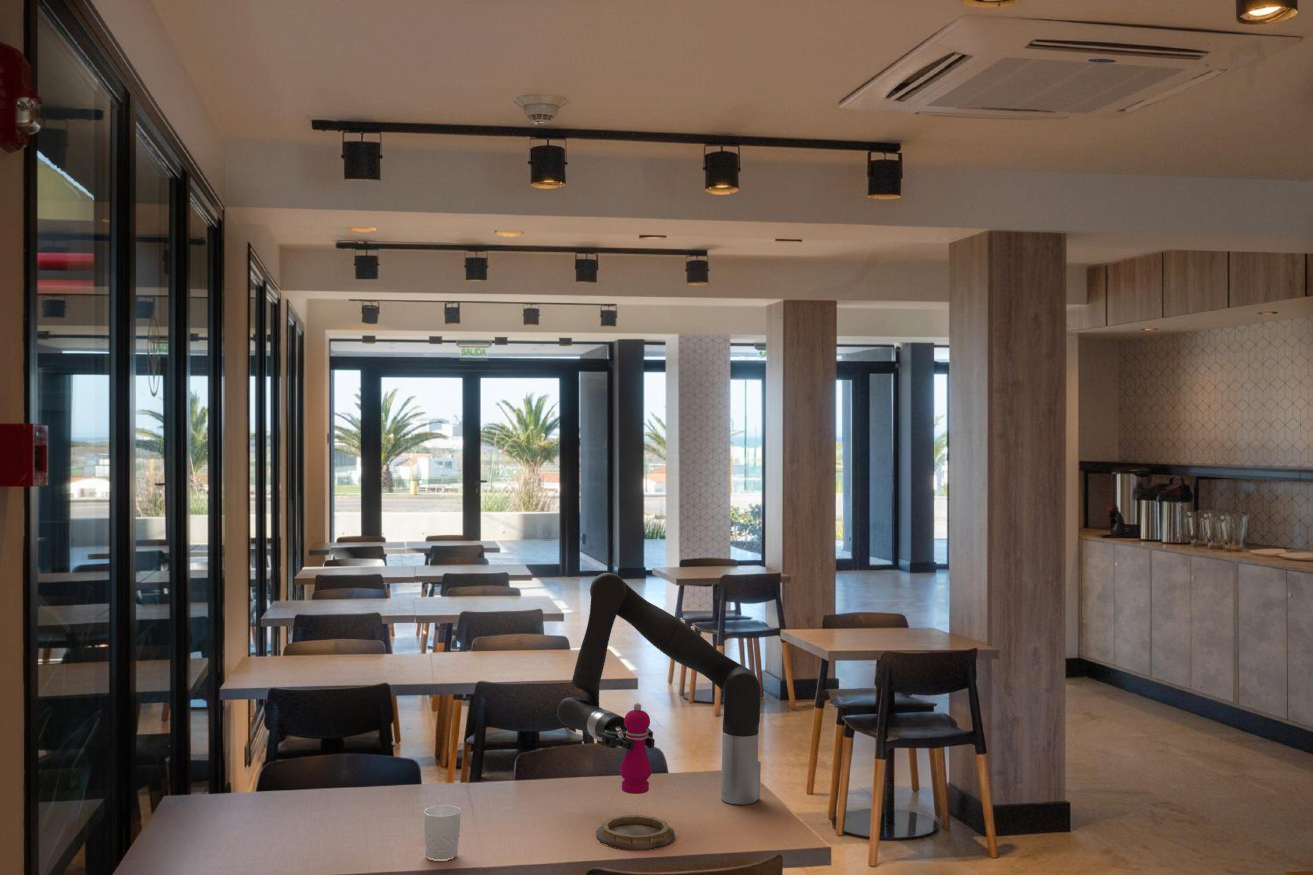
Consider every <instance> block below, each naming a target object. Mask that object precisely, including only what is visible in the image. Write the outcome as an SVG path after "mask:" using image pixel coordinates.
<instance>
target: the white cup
mask: <svg viewBox="0 0 1313 875" xmlns="http://www.w3.org/2000/svg"><path fill="white" fill-rule="evenodd" d="M461 815H462V810H461V808H460V807H458V806H456V805H449V804H448V805H447V804H441V805H432V806H430V807H427V808H425V809H424V812H423V819H424V820H423V822H424V824H423V826H424V828H423V829H424V830H423V831H424V832H423V833H424V846H425V857H426V856H427V857H430V858H434V859H448V858H452V857H455V856H457V857H458V850H459V842H460V829H461Z"/></svg>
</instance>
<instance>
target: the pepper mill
mask: <svg viewBox="0 0 1313 875" xmlns="http://www.w3.org/2000/svg"><path fill="white" fill-rule="evenodd" d="M624 718H625V719H624V725H625V727H626V728H627V731H626V738H628V739H629V740H631V741H633V751H629V750H627V749H626V753H625V755H624V757H623V760H622V762H621V765H620V770H619V773H620V776H621V777H622V778H623V780H622V782H621V791H623V792H624V793H626V794H633V795H640V794H645V793H647V792H649V790H650V783H649V779H650V777H651V775H652V766H651V762H650V759H649V757H648V753H647V751H646V746H645V740H646V738H647V737H648V736H647V733H648V732H647V731H646V730H647V728H649V727H650V724H651V718H650V716H649V713H647V712H646V711H644V710H643V709H642V705H641V704H640V703H638V702H637V703H634V704H633V709H631V710H630V711H628V712H627V713H626V714H625V716H624Z"/></svg>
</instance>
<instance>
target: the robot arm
mask: <svg viewBox="0 0 1313 875" xmlns="http://www.w3.org/2000/svg"><path fill="white" fill-rule="evenodd" d="M589 593H590V594H589V595H590V606H589V607H590V608H589V616H588V621H587V626H586V630H585V632H584V633H585V634H584V637H583V639H582V640H583V641H582V642H581V646H580V649H579V652H578V655H577V660H576V664H575V667H574V670H573V671H574V672H573V674H572V675H573V676H572V680H571V682H572V683H571V684H572V685H573V687H574V688H577V689H578V690H581V691H583V693H584V698H578V697H572V696H571V697H570V696H568V697H565V698H563V699H562V700H561V701H560V702H559V704H558V705H557V710H556V711H557V712H556V714H557V718H558V720H559V722H560V723H561V724H562V725H563V726H565V727H568V728H572V729H575V730H578V731H582V732H584V733H586V734H587V735H590V736H591V737H592V738H594V739H595V740H596V744H598V745H601V746H604V747H606V748H610V749H615V748H619V749H624V750H626V751H627V750H629V751H633V741H631V740H629V739H628V738H626V731H627V728H626V727H625V725H624V719H625V717H623V716H621V715H620V714H617V713H616V712H615V713H614V712H613V711H611V710H608V709H604V708H602V707H600V685H601V679H602V676H603V672H604V668H605V663H606V659H607V654H608V653H607V652H608V648H609V642H610V637H611V633H612V629H613V626H614V623H615V620H616V618H617V616H618V617H620V618H621V619H623V620H624V621H626V622H627V623H629V624H630V625H631V626H632V627H634V629H635V630H636V631H637V632H638V633H639V634H640V635H641V636H642V637H643V638H644V639H645V640H647V641H648V642H649V643H650V644H651V645H652V646H654V647H655V648H656V649H657V650H659V651H660V652H662V653H663V654H665V655H666V657H667V656H668V658H670V659H671V660H673V661H675V662H676V663H678V664H681V665H682V666H684V667H685V668H688V669H691V670H692V671H695V672H698V673H699V674H700V675H703V676H704V677H706V678H707V679H708V680H709V681H710V682H712V683H713V684H715V685H716V686H717V687H718V689H720V690H721V691H722V692H723V718H722V736H721V739H722V740H721V741H722V742H721V744H722V745H721V746H722V747H721V749H722V750H721V783H720V784H721V786H720V787H721V790H720V795H721V797H720V799H721V801H722V802H724V803H728V804H732V805H750V804H751V805H752V804H754V803H756V802H757V801H758V800H760V799H761V773H762V772H761V770H762V768H761V766H762V765H761V764H762V762H761V761H759V738H760V737H759V734H760V733H759V732H760V724H761V723H760V721H761V695H762V694H761V692H762V691H761V684H760V681H759V679H758V676H757V675H756V674H755V673H754V671H753V670H751V669H749V668H748V667H745V666H744V665H742V664H741V663H739V662H737V661H736V660H733V659H732V658H730V657H728V656H726V655H725V654H723V653H722V652H720V651H719V650H718V649H717V648H715V647H714V646H713V645H712V644H711V643H710V642H709V641H708V640H706V639H705V638H704V637H702V635H700V634H699V633H697V632H696V631H695V630H694V629H692V628H691V627H690V626H689V625H687V624H686V623H684V621H681V620H680V619H679V618H677V617H676V616H674V615H673V614H671V613H669V612H667V611H666V610H664V609H662V608H660V607H659V606H657V605H655V604H654V603H651V602H649V601H648V600H646V599H645V598H643V597H642V596H641V595H640V594H638V593H637V591H635V590H634V589H632V587H630V586H629V585H628V584H627V583H626V582H625V581H624V580H623V579H622V577H620V576H619V575H617V574H616V573H613V572H603V573H600V574H599V575H596V576H595V578H594V579H593V580H592V582H591V585H590V588H589ZM646 731H647V732H648V733H647V736H648V737H647V738H646V740H645V747H646V748H649V749H654V747H655V739H654V732H653V731H652V729H650V728H649V727H648V728H647V730H646Z"/></svg>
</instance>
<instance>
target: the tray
mask: <svg viewBox="0 0 1313 875" xmlns="http://www.w3.org/2000/svg"><path fill="white" fill-rule="evenodd" d="M595 834H596V836H595V837H597V838H596V839H598V840H599V841H600V842H599V841H598V840H597V841H598V842H599V843H601V844H602V843H604V844H606V845H608V846H607V847H609V846H611V847H610V848H613V847H616V848H615V849H617V848H620V849H619V850H623V849H624V850H625V851H649V850H656V849H655V848H657V849H660V848H659V847H661V848H665V847H667V846H669V845H670V843H671V844H672V843H673V842H674V841H675V831H674V829H673V828H672V827H670V825H669V824H668V822H667V821H665V820H663V819H661V818H658V817H654V816H648V815H642V814H638V815H637V814H631V815H625V814H624V815H619V816H614V817H611V818H607V820H605V821H604V822H603V823H602V824H601V825H600V826H599V827H597V829H596V832H595ZM673 840H674V841H673ZM604 844H603V845H604ZM606 845H605V846H606Z"/></svg>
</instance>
